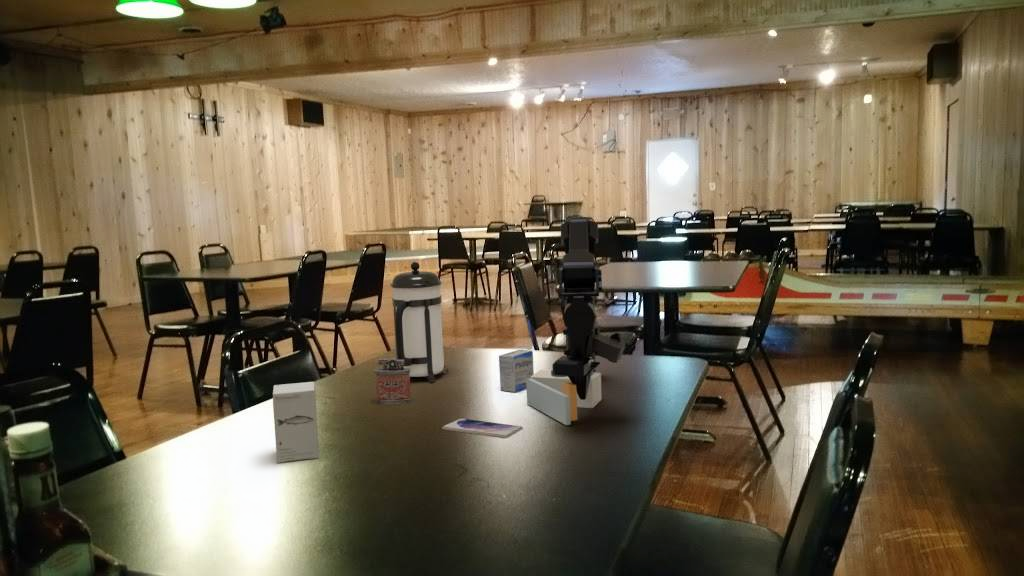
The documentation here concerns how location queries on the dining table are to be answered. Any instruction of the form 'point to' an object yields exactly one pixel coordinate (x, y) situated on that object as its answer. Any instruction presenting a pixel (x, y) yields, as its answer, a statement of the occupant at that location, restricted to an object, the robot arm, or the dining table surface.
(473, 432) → the smartphone
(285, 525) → the dining table surface
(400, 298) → the coffee press
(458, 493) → the dining table surface
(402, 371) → the lighter
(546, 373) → the camera housing
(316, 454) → the supplement box
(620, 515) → the dining table surface
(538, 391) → the side door
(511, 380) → the medicine box
